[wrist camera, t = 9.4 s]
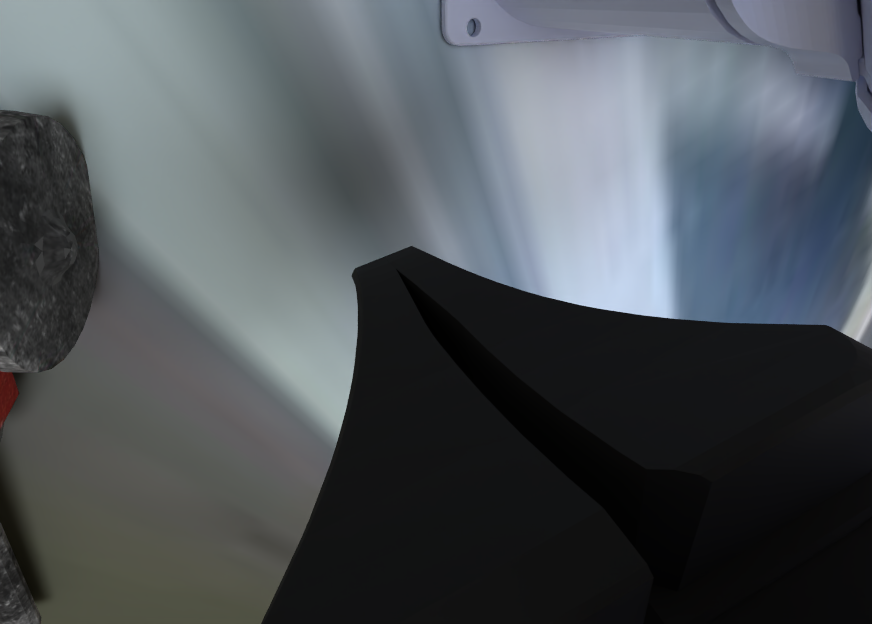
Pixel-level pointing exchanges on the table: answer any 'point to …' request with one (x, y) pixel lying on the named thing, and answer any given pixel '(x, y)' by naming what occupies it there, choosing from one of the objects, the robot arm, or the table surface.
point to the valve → (39, 278)
